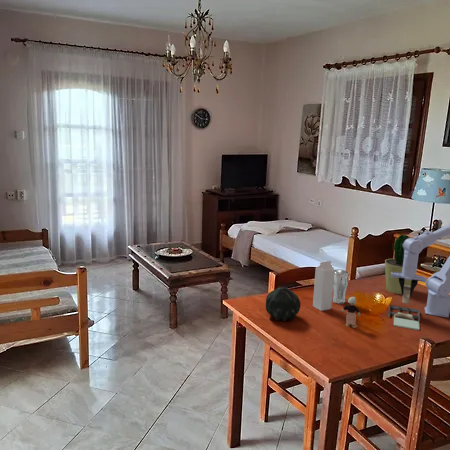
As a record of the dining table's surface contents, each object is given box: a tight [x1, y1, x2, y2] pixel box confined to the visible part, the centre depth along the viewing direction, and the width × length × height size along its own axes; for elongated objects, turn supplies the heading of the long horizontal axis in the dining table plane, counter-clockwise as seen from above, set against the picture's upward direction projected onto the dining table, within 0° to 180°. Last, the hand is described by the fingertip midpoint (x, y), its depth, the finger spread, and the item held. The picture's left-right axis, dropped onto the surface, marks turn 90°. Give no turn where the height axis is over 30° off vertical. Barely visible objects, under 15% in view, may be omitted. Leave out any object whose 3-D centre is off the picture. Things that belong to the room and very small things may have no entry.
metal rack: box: [387, 304, 421, 323], centre depth 196 cm, size 13×12×1 cm
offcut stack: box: [393, 311, 415, 321], centre depth 192 cm, size 8×3×2 cm, turn 64°
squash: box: [265, 286, 302, 322], centre depth 188 cm, size 14×15×15 cm
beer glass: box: [332, 268, 349, 305], centre depth 207 cm, size 7×7×15 cm
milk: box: [312, 260, 335, 312], centre depth 199 cm, size 6×6×22 cm
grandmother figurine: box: [341, 296, 361, 329], centre depth 182 cm, size 8×4×13 cm, turn 71°
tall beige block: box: [402, 285, 411, 305], centre depth 195 cm, size 2×7×6 cm, turn 158°
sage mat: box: [393, 316, 420, 331], centre depth 186 cm, size 10×8×1 cm
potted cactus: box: [384, 234, 411, 295], centre depth 223 cm, size 15×15×30 cm
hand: (406, 295), depth 195 cm, fingers closed on tall beige block, 2 cm apart
